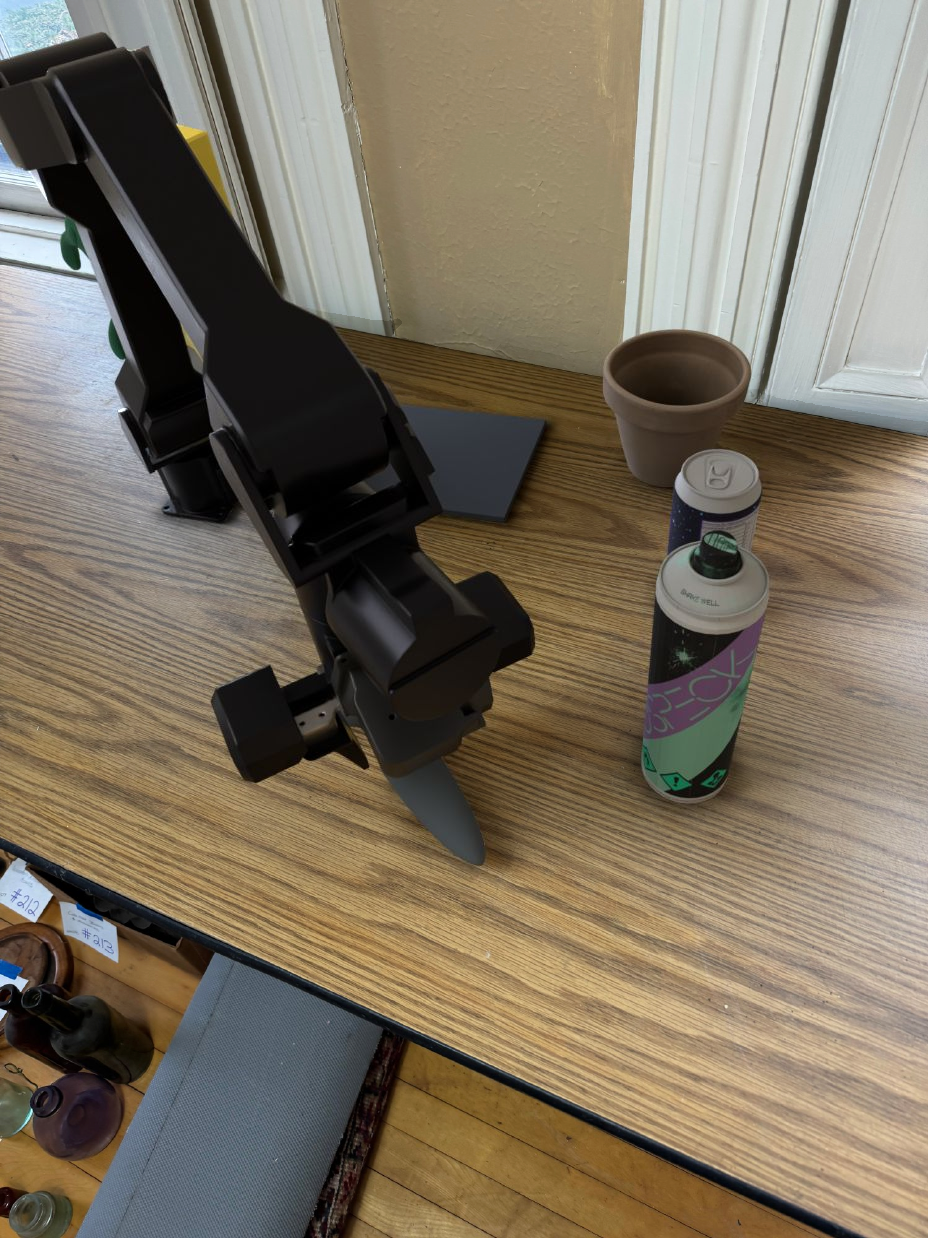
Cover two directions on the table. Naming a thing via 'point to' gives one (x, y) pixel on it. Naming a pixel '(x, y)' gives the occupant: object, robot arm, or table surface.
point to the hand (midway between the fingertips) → (398, 747)
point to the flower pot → (672, 397)
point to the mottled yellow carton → (73, 241)
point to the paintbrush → (440, 807)
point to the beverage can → (715, 498)
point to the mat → (472, 459)
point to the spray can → (701, 664)
